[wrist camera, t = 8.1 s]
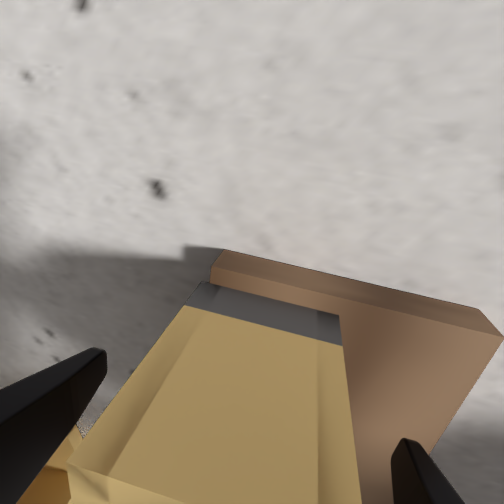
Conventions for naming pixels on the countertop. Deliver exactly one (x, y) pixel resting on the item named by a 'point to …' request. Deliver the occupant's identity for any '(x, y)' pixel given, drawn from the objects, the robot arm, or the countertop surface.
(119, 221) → the countertop surface
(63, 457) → the tan angular part
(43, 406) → the robot arm
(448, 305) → the pin board
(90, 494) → the loose sleeve
